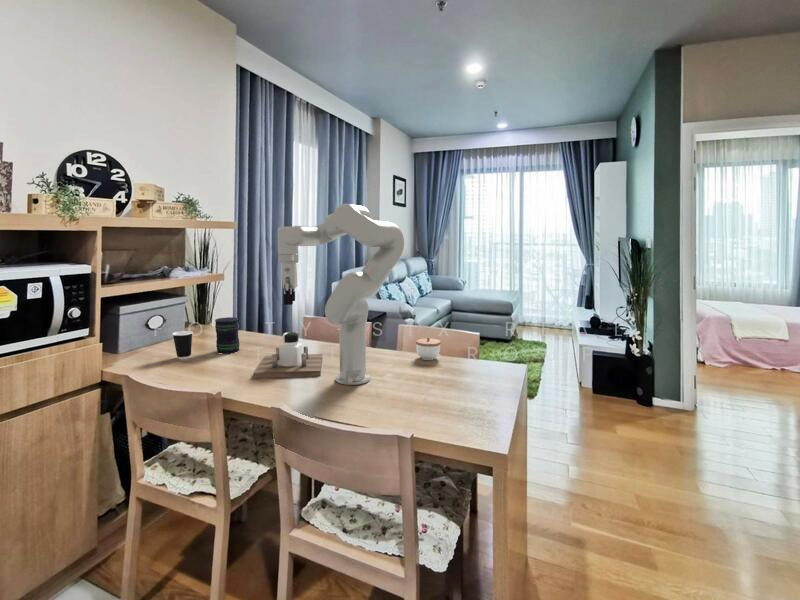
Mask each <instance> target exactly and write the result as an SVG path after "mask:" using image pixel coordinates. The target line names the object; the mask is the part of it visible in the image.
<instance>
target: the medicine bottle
mask: <svg viewBox="0 0 800 600" xmlns="http://www.w3.org/2000/svg"><path fill="white" fill-rule="evenodd" d="M278 347H279V360H280V364H281V365H297V364H298V363H300V362H301V354H302V353H303V343H301V342H299V334H298V333H297V332H296V331H295V332H294V331H288V332H284V333H283V334H282V345H279V346H278Z"/></svg>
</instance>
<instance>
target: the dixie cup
mask: <svg viewBox="0 0 800 600" xmlns="http://www.w3.org/2000/svg"><path fill="white" fill-rule="evenodd" d="M193 334H194V331H191V330H181V331H180V330H179V331H175V332H173V333H172V337H173V338H172V339H173V342H174V347H175V353H176V357H177V359H178V360H188V359H191V355H192V347H193V346H192V345H193ZM187 358H188V359H187Z"/></svg>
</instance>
